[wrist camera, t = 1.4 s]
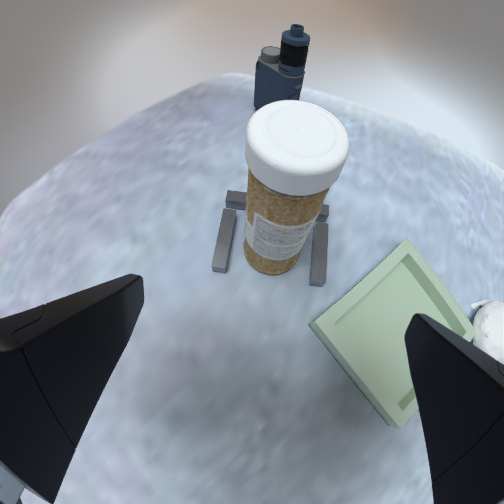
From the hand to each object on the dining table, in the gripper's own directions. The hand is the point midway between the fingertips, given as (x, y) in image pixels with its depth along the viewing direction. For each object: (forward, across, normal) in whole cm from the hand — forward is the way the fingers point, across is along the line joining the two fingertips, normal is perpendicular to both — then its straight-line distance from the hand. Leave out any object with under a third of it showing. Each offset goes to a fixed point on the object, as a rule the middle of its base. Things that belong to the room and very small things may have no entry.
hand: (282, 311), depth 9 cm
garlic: (+11, -23, +8) cm, 27 cm away
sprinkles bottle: (+15, 0, +4) cm, 15 cm away
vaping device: (+26, +1, -7) cm, 27 cm away
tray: (+11, -11, +8) cm, 18 cm away
